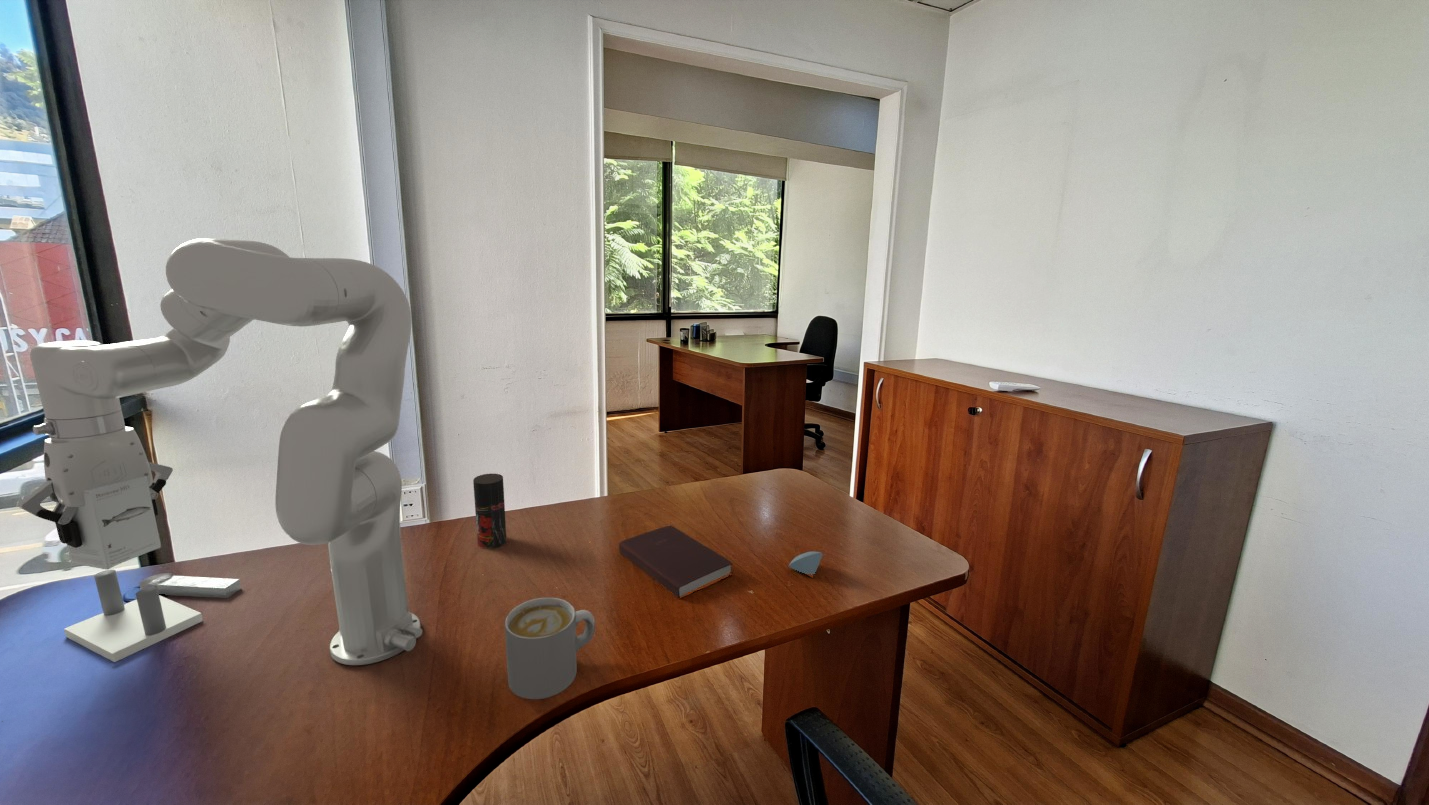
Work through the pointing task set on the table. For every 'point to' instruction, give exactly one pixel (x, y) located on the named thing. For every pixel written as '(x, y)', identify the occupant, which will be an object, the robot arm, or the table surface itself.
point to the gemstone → (806, 562)
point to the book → (675, 559)
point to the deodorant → (490, 510)
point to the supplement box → (115, 524)
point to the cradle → (130, 620)
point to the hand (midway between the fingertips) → (113, 532)
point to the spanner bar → (192, 585)
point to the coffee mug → (544, 646)
